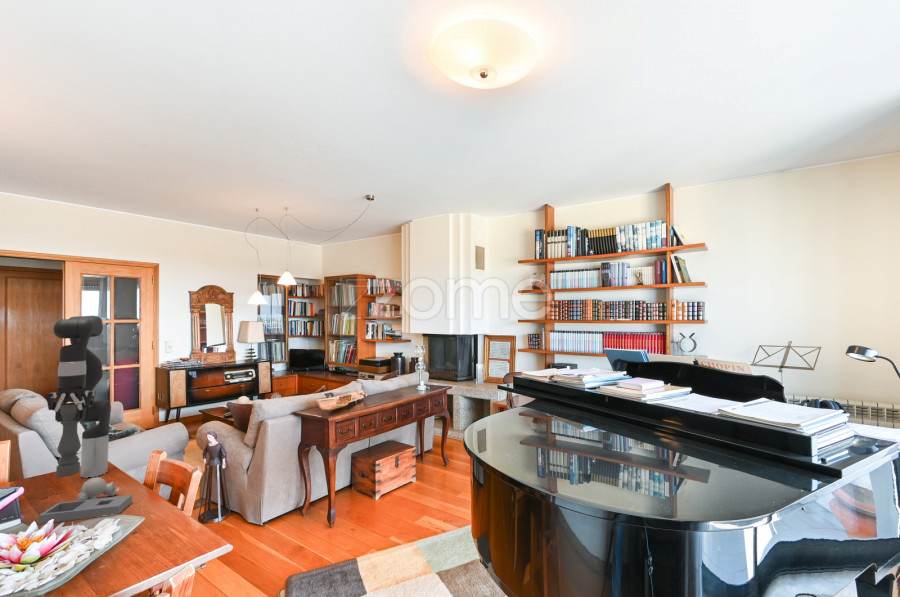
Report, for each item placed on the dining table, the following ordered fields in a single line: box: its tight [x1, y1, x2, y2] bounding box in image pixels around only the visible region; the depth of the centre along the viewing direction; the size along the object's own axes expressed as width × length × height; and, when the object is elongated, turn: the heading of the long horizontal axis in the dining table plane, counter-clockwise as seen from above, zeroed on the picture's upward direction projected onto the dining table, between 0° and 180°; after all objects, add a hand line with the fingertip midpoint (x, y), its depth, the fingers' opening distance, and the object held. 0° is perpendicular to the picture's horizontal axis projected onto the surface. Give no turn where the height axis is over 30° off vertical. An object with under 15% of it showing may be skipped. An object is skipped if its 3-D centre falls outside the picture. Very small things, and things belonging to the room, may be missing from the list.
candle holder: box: [55, 402, 82, 478], centre depth 145 cm, size 6×6×25 cm
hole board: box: [38, 494, 133, 525], centre depth 145 cm, size 10×23×3 cm, turn 106°
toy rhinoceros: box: [76, 476, 120, 501], centre depth 157 cm, size 7×12×8 cm, turn 138°
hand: (70, 420), depth 146 cm, fingers closed on candle holder, 5 cm apart
